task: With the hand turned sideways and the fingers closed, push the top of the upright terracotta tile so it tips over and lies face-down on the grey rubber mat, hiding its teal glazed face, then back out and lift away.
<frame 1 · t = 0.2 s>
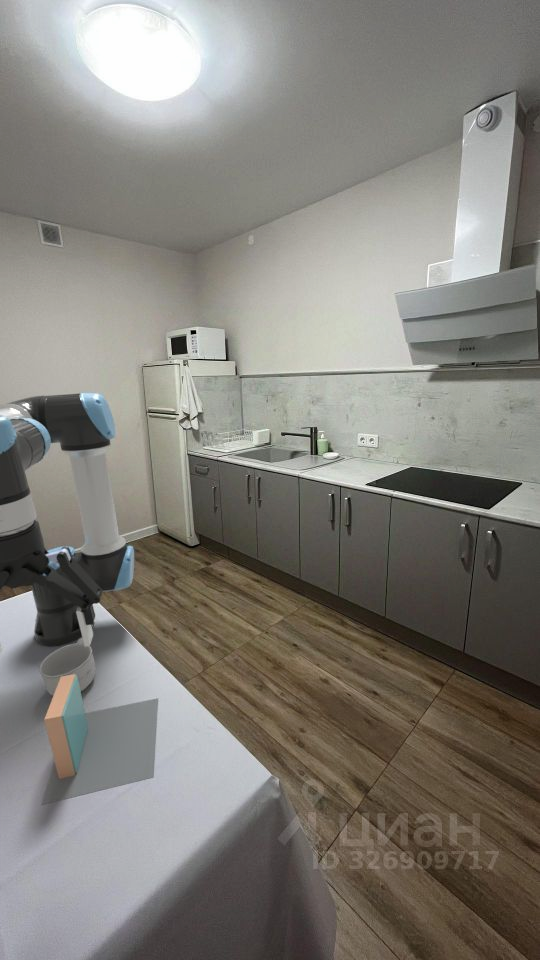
hand: (43, 649, 63), 27 cm above the table, tool pointing down, fingers open, 13 cm apart
tile: (73, 751, 75), point 1 cm above the table, touching mat
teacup: (77, 682, 93), on the table
mat: (108, 746, 76), on the table
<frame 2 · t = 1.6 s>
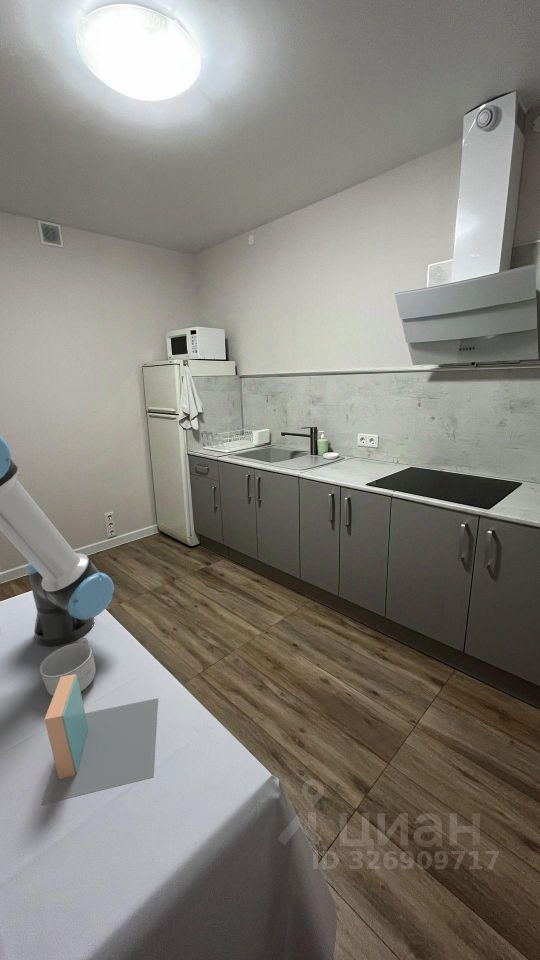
nothing on the table moved.
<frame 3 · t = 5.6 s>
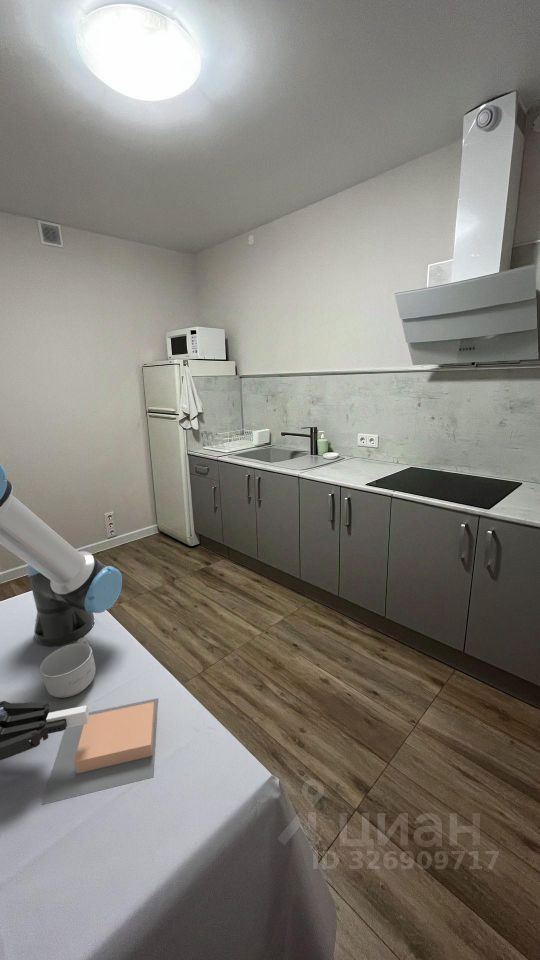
hand: (87, 714, 73), 9 cm above the table, tool horizontal, fingers closed
tile: (81, 743, 75), point 2 cm above the table, tilted 90°, touching mat
everything else where it was.
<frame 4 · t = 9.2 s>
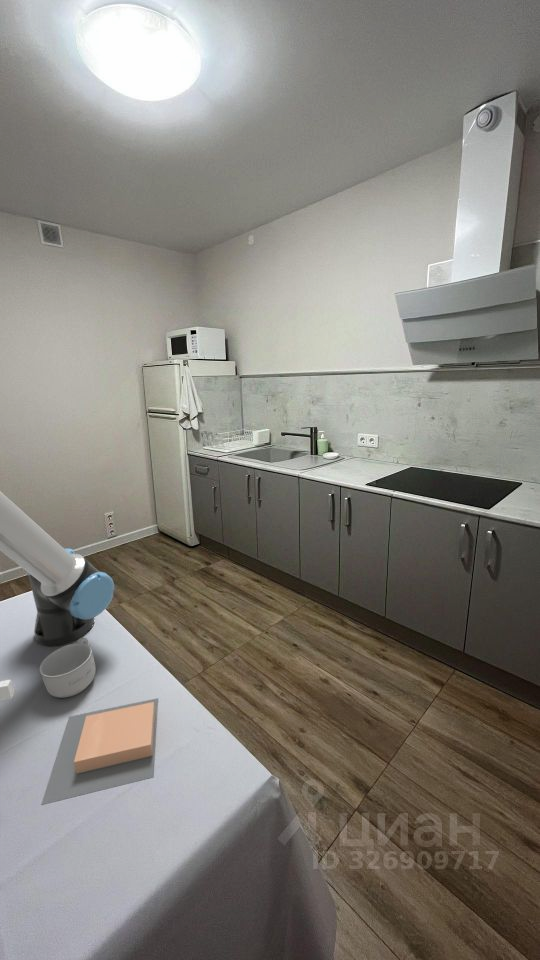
hand: (11, 688, 69), 17 cm above the table, tool horizontal, fingers closed
nothing on the table moved.
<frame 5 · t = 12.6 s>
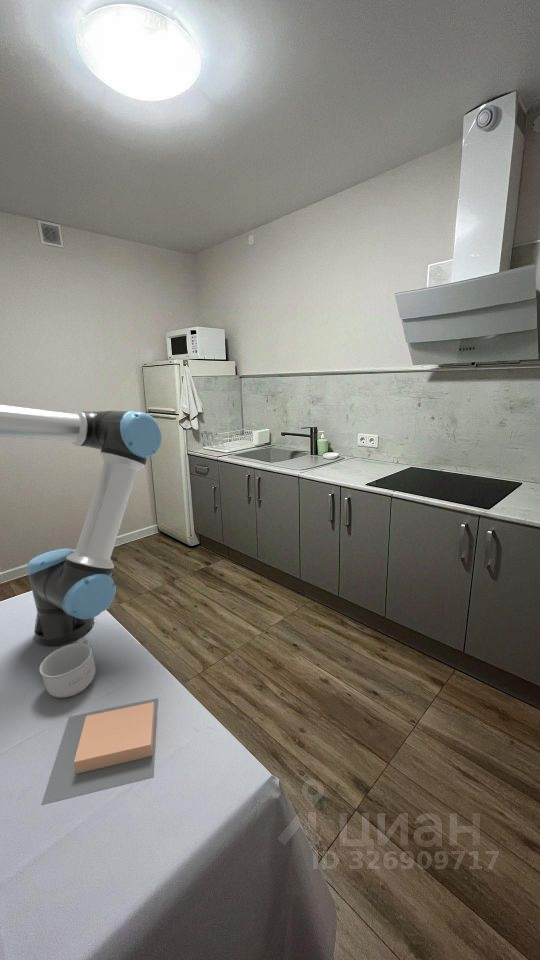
nothing on the table moved.
at the end: tile tilted 90°; tile touching mat; tile inside the target area on the mat (4.4 cm from its centre), point 2.2 cm above the mat's base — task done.
